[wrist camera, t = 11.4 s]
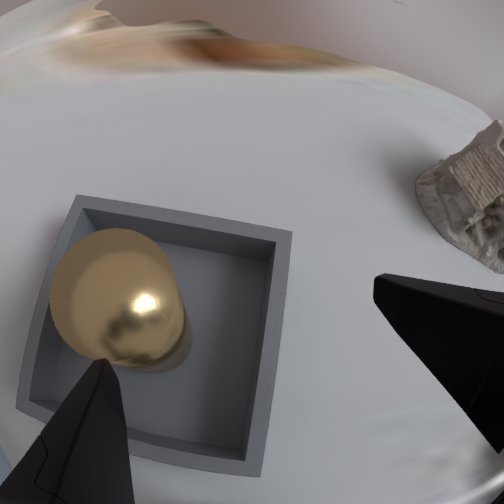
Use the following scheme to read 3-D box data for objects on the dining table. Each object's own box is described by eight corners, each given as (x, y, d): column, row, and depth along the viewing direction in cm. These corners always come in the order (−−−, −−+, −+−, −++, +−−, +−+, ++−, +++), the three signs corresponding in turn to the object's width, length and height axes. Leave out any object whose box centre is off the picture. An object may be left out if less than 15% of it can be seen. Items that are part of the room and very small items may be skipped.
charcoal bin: (250, 460, 19) (259, 477, 15) (45, 407, 18) (15, 408, 14) (279, 257, 25) (292, 231, 21) (93, 223, 24) (76, 194, 20)
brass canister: (185, 380, 20) (160, 377, 10) (114, 362, 19) (35, 339, 9) (199, 308, 22) (190, 240, 12) (130, 294, 22) (73, 219, 12)
